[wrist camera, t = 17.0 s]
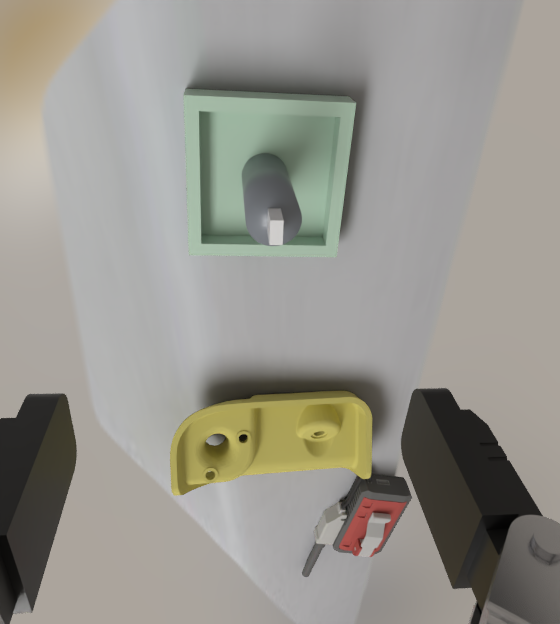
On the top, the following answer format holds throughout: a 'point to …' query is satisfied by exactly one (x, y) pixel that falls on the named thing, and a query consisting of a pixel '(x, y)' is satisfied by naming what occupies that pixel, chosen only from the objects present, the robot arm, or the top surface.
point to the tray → (256, 140)
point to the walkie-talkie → (362, 518)
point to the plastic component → (272, 438)
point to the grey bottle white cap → (269, 201)
